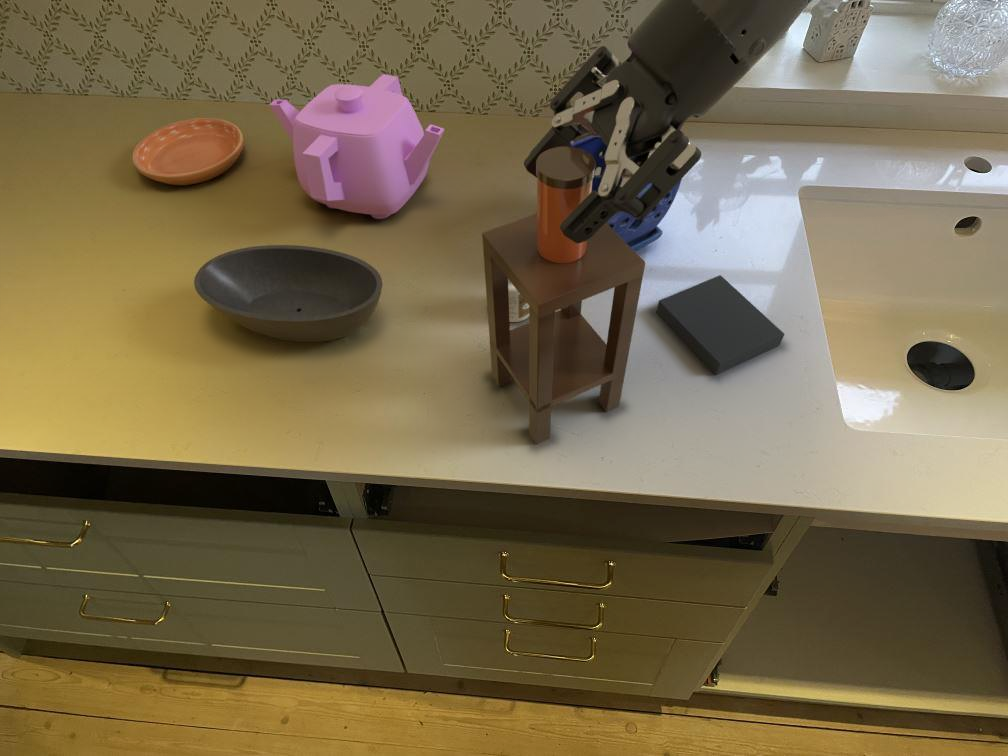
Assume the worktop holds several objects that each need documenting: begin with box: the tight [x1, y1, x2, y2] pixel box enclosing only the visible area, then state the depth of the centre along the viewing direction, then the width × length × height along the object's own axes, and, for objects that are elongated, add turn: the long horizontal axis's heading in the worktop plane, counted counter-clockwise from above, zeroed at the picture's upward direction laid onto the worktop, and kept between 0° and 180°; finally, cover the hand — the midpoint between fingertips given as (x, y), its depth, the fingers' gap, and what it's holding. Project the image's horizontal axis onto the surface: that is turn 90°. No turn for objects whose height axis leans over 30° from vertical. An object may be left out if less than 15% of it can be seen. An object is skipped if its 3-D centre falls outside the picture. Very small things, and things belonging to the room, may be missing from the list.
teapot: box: [268, 73, 445, 220], centre depth 88 cm, size 19×18×15 cm
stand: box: [481, 213, 646, 445], centre depth 62 cm, size 10×10×20 cm
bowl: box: [193, 244, 383, 343], centre depth 75 cm, size 12×22×6 cm, turn 79°
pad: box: [656, 274, 785, 376], centre depth 74 cm, size 11×9×2 cm
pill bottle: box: [508, 279, 529, 323], centre depth 75 cm, size 4×4×8 cm
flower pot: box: [570, 136, 683, 252], centre depth 81 cm, size 13×13×12 cm
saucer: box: [131, 117, 245, 186], centre depth 99 cm, size 16×16×3 cm
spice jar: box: [536, 146, 596, 263], centre depth 51 cm, size 4×4×8 cm
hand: (549, 203), depth 50 cm, fingers open, 8 cm apart
